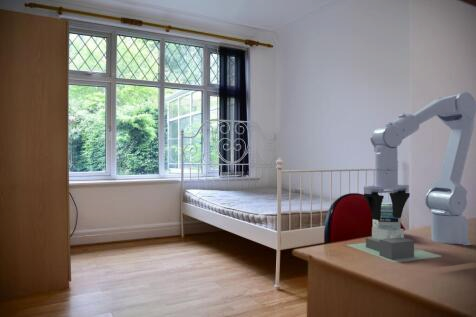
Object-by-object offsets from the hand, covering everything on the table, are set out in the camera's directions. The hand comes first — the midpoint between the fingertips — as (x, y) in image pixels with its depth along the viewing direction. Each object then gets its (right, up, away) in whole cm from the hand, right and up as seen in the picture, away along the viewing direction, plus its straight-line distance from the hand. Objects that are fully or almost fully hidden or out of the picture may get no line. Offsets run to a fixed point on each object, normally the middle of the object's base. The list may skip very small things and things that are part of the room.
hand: (386, 218), depth 98 cm
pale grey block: (0, -7, 0) cm, 7 cm away
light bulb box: (+5, -9, +14) cm, 17 cm away
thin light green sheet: (-1, -8, -6) cm, 10 cm away
